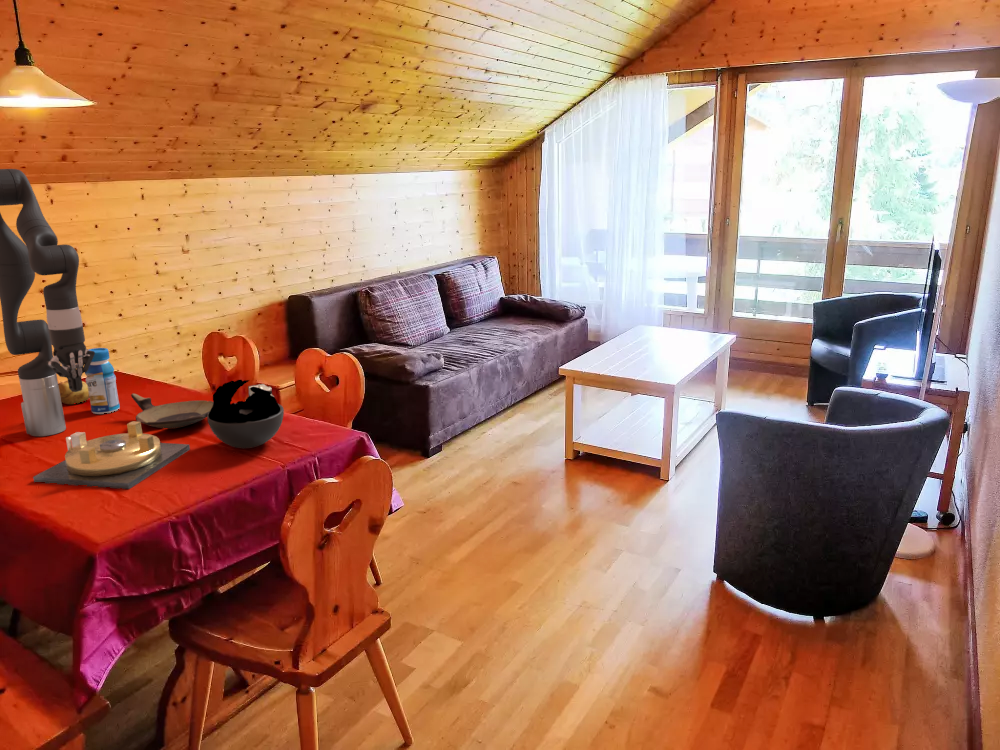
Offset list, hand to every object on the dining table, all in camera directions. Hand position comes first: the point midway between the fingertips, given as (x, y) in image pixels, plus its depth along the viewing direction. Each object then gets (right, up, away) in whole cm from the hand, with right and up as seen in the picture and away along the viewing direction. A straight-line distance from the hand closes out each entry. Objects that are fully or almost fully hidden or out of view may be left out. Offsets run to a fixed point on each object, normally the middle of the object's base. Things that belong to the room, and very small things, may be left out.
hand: (76, 390), depth 189 cm
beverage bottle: (-17, -8, +46) cm, 49 cm away
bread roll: (-33, -5, +56) cm, 65 cm away
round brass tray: (+9, -18, +2) cm, 20 cm away
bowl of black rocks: (+40, -16, +15) cm, 45 cm away
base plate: (+9, -20, +2) cm, 22 cm away
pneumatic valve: (+38, -11, +34) cm, 52 cm away
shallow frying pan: (+11, -11, +34) cm, 37 cm away
